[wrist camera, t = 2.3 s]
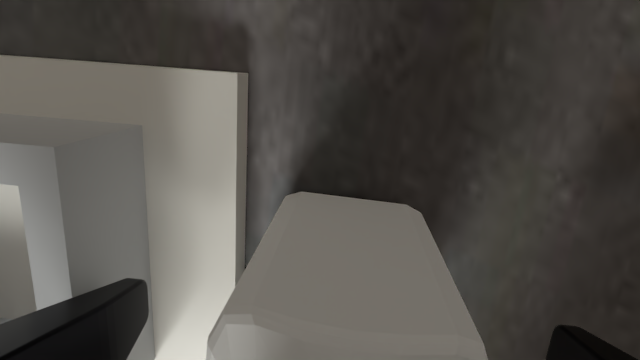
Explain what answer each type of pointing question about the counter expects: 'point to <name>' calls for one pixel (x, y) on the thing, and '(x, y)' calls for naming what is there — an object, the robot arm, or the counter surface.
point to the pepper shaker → (345, 289)
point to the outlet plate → (123, 191)
